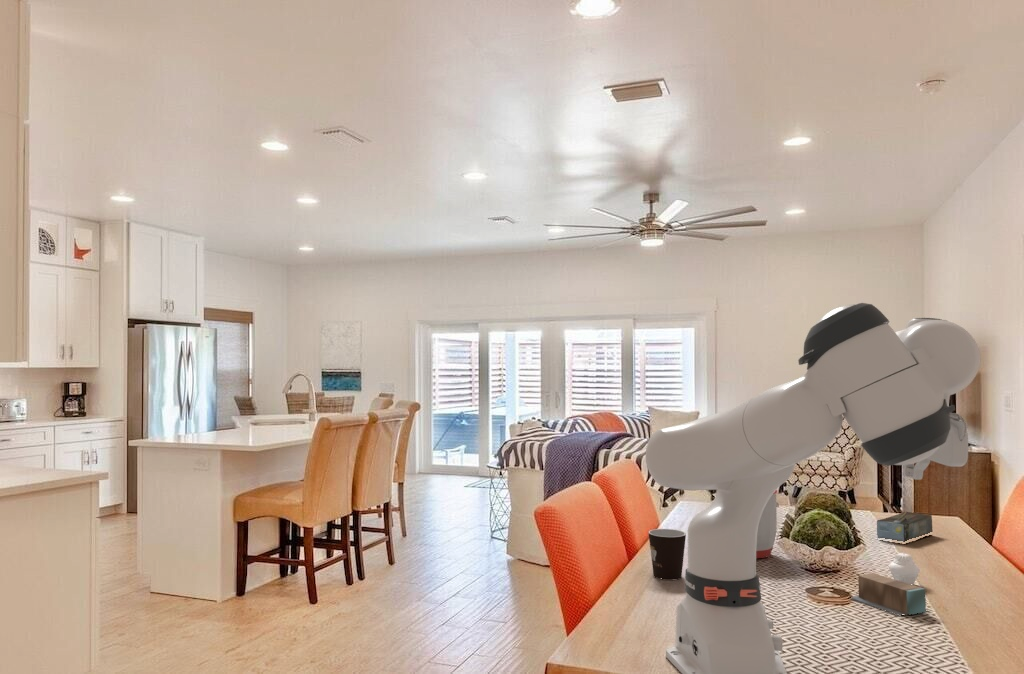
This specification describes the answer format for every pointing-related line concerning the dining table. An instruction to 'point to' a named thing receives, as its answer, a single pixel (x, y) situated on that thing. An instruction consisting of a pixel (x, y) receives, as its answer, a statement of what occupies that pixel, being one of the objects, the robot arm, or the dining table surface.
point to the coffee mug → (667, 552)
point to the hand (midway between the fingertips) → (912, 477)
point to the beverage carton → (904, 526)
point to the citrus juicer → (767, 528)
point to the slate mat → (876, 605)
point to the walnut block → (892, 593)
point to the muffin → (904, 568)
